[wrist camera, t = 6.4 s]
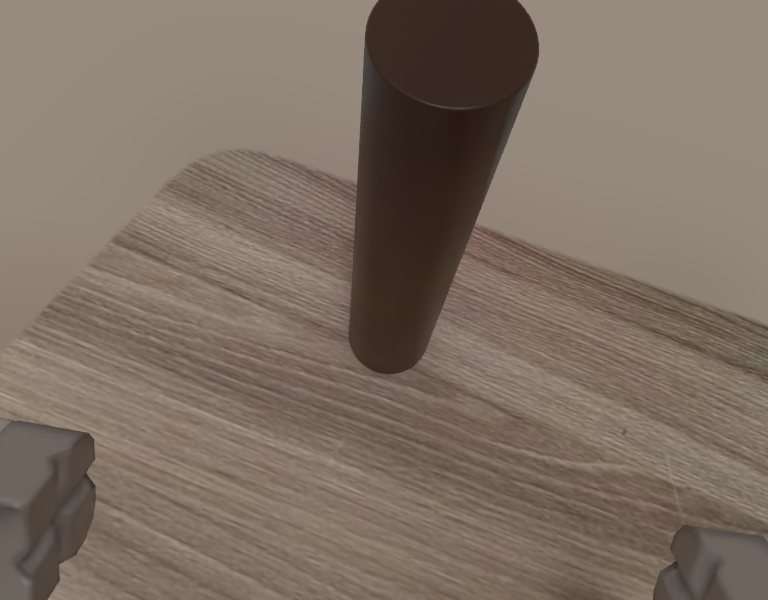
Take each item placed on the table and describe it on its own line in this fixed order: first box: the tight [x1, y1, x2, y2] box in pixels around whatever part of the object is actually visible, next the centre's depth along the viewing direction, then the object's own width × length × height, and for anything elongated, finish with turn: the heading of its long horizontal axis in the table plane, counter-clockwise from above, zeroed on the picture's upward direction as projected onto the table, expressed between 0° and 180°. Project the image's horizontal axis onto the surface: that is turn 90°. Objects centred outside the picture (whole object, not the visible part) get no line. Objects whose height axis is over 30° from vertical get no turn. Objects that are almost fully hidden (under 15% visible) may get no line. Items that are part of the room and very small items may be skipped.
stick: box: [349, 0, 539, 374], centre depth 19 cm, size 3×3×16 cm
